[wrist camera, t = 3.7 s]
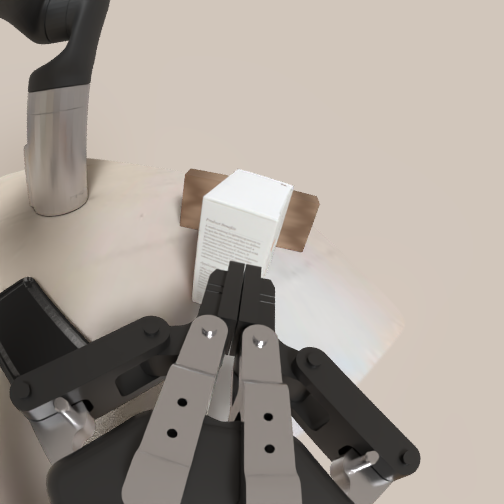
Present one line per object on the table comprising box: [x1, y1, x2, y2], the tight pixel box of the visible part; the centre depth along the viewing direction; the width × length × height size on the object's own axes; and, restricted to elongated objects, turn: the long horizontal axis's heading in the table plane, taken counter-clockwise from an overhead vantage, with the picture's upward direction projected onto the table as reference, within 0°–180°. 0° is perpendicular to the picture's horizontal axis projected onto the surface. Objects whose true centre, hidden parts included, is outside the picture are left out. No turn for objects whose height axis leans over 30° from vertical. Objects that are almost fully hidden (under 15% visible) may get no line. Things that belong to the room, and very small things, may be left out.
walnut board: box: [180, 169, 320, 252], centre depth 33 cm, size 16×2×7 cm, turn 86°
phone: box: [0, 277, 89, 384], centre depth 15 cm, size 8×1×15 cm
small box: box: [192, 169, 294, 304], centre depth 24 cm, size 8×6×10 cm
